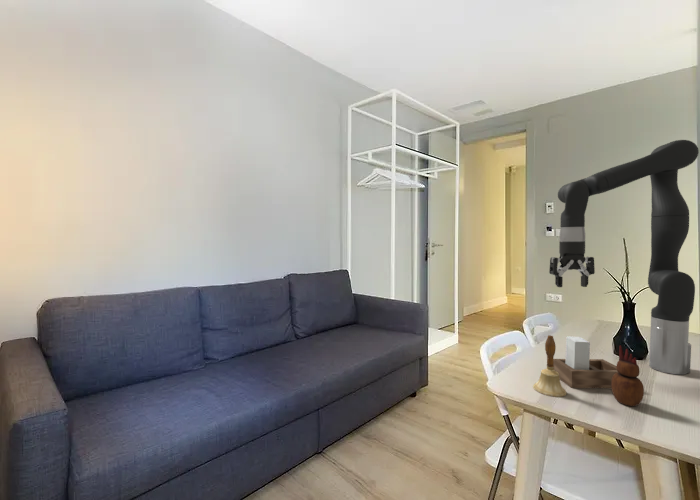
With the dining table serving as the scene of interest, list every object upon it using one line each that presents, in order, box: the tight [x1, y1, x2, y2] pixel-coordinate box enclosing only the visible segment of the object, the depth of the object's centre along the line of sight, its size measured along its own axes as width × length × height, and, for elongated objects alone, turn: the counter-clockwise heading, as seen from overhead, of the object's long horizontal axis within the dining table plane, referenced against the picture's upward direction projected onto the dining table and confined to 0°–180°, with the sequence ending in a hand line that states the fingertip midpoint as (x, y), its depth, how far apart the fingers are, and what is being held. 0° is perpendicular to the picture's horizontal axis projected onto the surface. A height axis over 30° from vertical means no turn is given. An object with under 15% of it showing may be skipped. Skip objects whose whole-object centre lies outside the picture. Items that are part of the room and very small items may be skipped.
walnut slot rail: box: [553, 358, 619, 389], centre depth 104 cm, size 16×10×5 cm, turn 89°
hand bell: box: [532, 335, 568, 398], centre depth 97 cm, size 8×8×16 cm
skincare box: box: [565, 335, 591, 370], centre depth 104 cm, size 6×4×12 cm
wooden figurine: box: [610, 345, 645, 407], centre depth 90 cm, size 7×6×15 cm
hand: (571, 286), depth 118 cm, fingers open, 8 cm apart
